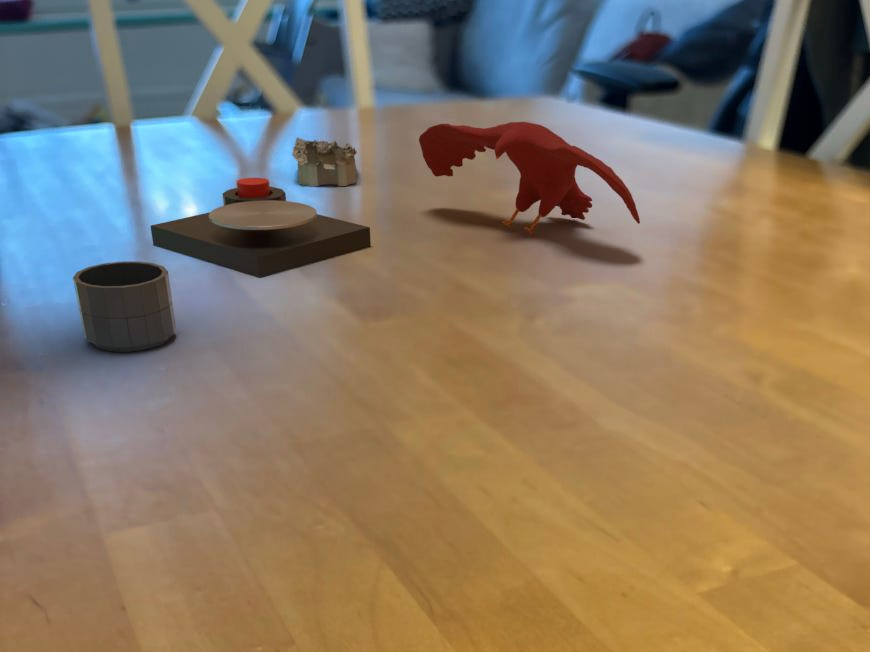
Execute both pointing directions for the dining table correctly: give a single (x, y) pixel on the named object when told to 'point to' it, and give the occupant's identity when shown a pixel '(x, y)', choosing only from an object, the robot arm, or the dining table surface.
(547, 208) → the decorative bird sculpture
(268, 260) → the scale
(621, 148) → the dining table surface
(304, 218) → the grey round platter
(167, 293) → the cylindrical container
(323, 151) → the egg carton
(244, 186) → the tare button
